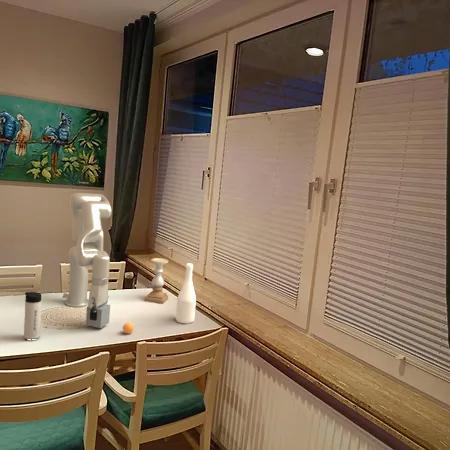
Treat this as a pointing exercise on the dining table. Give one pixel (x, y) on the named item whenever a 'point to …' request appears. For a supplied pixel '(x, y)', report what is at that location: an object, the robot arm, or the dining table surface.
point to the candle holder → (157, 283)
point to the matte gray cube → (99, 316)
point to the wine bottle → (186, 299)
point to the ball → (128, 328)
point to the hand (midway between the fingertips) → (97, 316)
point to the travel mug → (32, 315)
